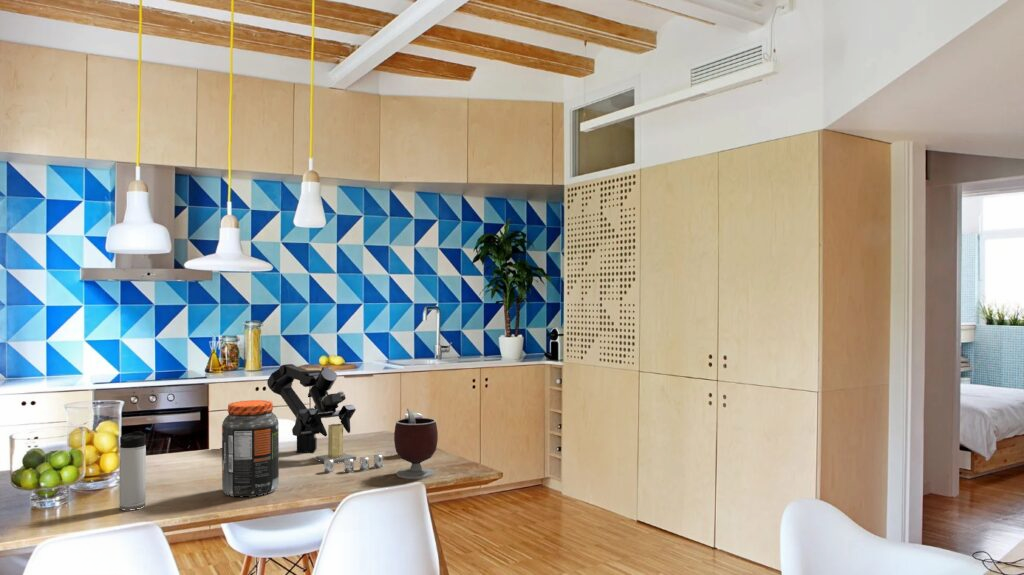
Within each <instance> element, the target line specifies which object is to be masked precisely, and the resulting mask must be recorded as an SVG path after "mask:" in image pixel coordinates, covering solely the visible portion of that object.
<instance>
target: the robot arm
mask: <svg viewBox="0 0 1024 575" xmlns="http://www.w3.org/2000/svg"><path fill="white" fill-rule="evenodd" d="M337 378H338V374H337V372H336V371H334V370H332V368H331V369H330V368H329V367H328V366H322V368H321V370H319V369H311V370H310V369H305V368H302V367H299V366H296V365H295V364H292V363H288V364H282V365H280V366H279V368H278V369H276V370H275V371H273V372H272V373H271V374H270V376H269V377H268V379H267V386H268V388H269V390H271V392H272V393H274V394H276V395H279V396H281V398H282V399H283V400H284V402H285V403H286V405H287V406H288V408H289V409H290V411H291V412H292V414H293V415H294V417H295V421H294V422H295V424H294V425H293V427H292V429H291V431H292V436H296V450H295V454H297V453H304V454H305V453H307V452H310V453H315V452H316V450H317V448H318V437H316V435H319V434H321V435H322V436H324V437H328V433H327V430H326V427H325V426H324V423H323V421H322V419H324V418H325V419H328V418H337V417H338V419H339V420H340V421H339V422H340V424H342V425H343V429H345V432H347V433H348V434H350V433H351V418H352V417H353V415H354V413H355V412H356V408H355V406H354V405H353V404H346V405H343V406H342V407H341V409H339V410H337V409H338V408H339V404H341V403H343V401H345V400H346V394H345V393H344V391H338V392H337V393H329V392H328V391H330V390H331V389H332V386H334V384H335V382H336V380H337ZM295 380H297V381H299V384H300V385H302V386H303V387H304V388H308V387H309V391H308V394H307V398H312V401H313V403H314V406H313V407H311V408H307V407H306V405H305V404H304V402H303V401H302V399H301V398H300V397H299V396H298V394H297V393H296V392H295V390H294V389H293V387H292V386H293V382H294V381H295ZM307 454H308V453H307Z"/></svg>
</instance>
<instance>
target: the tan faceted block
mask: <svg viewBox="0 0 1024 575" xmlns="http://www.w3.org/2000/svg"><path fill="white" fill-rule="evenodd" d="M327 428H328V429H327V431H328V433H327V439H328V440H327V441H328V442H327V444H328V445H327V446H328V447H327V448H328V449H327V450H328V453H327V455H328V457H330V458H340V457H342V456H343V453H344V427H343V425H342V424H341V423H331V424H328V427H327Z"/></svg>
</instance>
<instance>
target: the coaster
mask: <svg viewBox="0 0 1024 575" xmlns="http://www.w3.org/2000/svg"><path fill="white" fill-rule="evenodd" d="M348 458H352V459H354V461H356V460H357V456H356V455H352V454H348V453H344V452H343V456H342V457H340V458H330V457H328V454H324V455H318V456H315V460H316V459H317V460H320V461H319V462H321V461H323V462H322V463H324V460H325V459H334V463H337V464H339V463H338V462H343V463H344V459H348ZM317 460H316V461H317Z"/></svg>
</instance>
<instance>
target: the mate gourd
mask: <svg viewBox="0 0 1024 575" xmlns="http://www.w3.org/2000/svg"><path fill="white" fill-rule="evenodd" d="M406 411H407V414H408V418H405V417H404V418H400V419H397V420H396V421H395V426H394V434H393V435H394V436H393V442H394V450H395V452H396V454H397V455H398V457H399V458H400V459H401V460H403V461H406V462H408V463H411V465H410V468H403V469H400V470H398V471H397V472H396V476H397V477H398V478H400V479H401V478H402V479H409V480H419V479H421V480H422V479H427V477H428V478H431V477H430V476H432V477H434V476H435V475H436V471H435V469H432V468H427V467H422V465H421V463H423V462H426V461H427V460H429V459H431V458H432V457H433V456H434V454H435V453H436V451H437V448H438V440H439V438H438V437H439V434H438V433H439V432H438V425H437V420H436V419H435V418H430V417H429V418H428V417H423V418H415V417H414V415H413V413H414V412H412V411H411V409H410V408H406ZM433 475H434V476H433Z"/></svg>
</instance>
